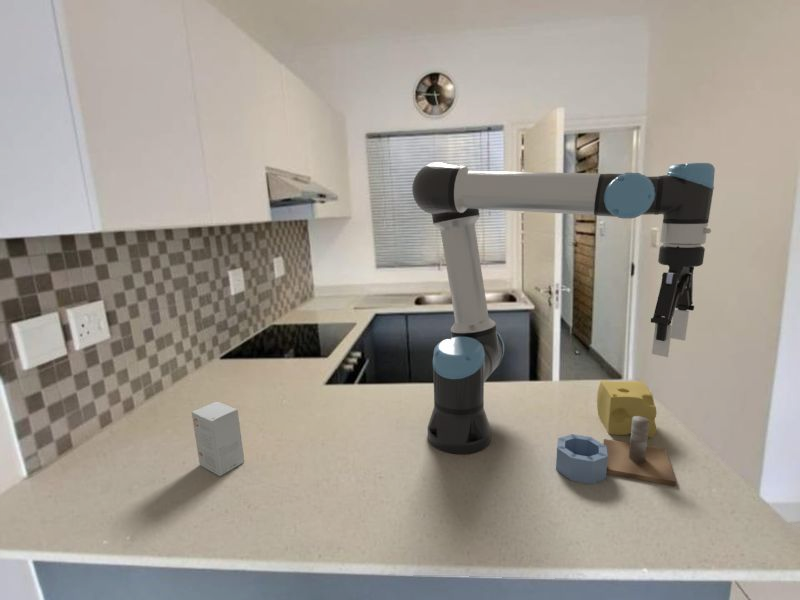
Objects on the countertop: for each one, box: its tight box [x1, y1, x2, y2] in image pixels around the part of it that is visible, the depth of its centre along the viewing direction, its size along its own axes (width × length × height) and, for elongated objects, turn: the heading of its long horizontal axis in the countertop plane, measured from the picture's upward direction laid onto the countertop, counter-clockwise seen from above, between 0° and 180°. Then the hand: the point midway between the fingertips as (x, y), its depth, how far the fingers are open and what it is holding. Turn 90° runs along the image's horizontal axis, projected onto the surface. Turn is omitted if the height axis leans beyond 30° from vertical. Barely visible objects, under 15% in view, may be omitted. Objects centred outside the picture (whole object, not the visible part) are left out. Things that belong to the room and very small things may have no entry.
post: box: [603, 416, 677, 487], centre depth 88 cm, size 12×12×10 cm
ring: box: [555, 433, 608, 485], centre depth 87 cm, size 9×9×5 cm
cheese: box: [596, 380, 657, 439], centre depth 103 cm, size 10×11×10 cm
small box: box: [191, 401, 245, 477], centre depth 93 cm, size 8×6×13 cm
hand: (669, 346), depth 88 cm, fingers open, 13 cm apart
